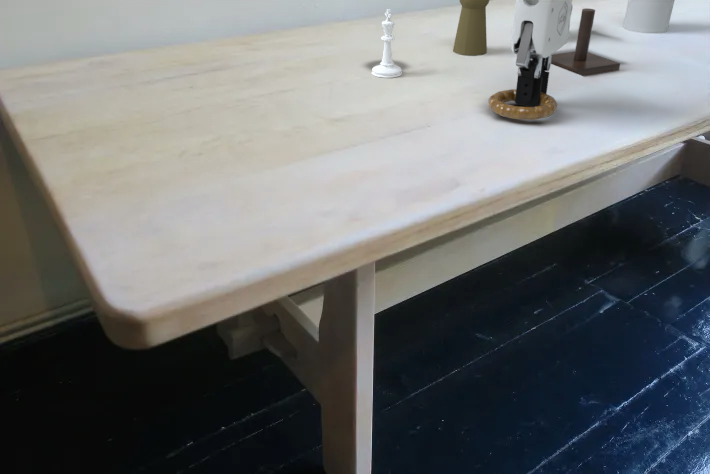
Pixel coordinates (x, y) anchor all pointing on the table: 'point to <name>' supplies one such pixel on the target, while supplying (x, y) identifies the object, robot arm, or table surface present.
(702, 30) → the table surface
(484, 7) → the olive tapered cylinder
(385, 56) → the chess piece
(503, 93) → the ring
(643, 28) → the cup
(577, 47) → the wooden peg stand
